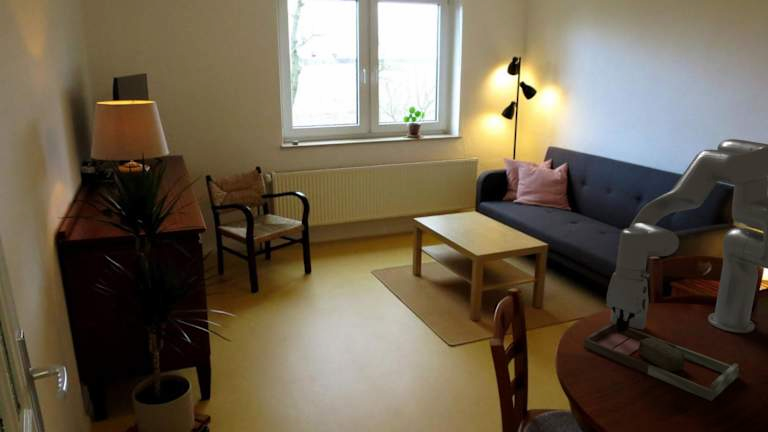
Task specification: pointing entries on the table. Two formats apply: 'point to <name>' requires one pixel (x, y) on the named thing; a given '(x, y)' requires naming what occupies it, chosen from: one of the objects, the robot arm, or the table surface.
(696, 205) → the robot arm
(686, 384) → the frame
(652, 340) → the stone block
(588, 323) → the table surface
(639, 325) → the photo printer
